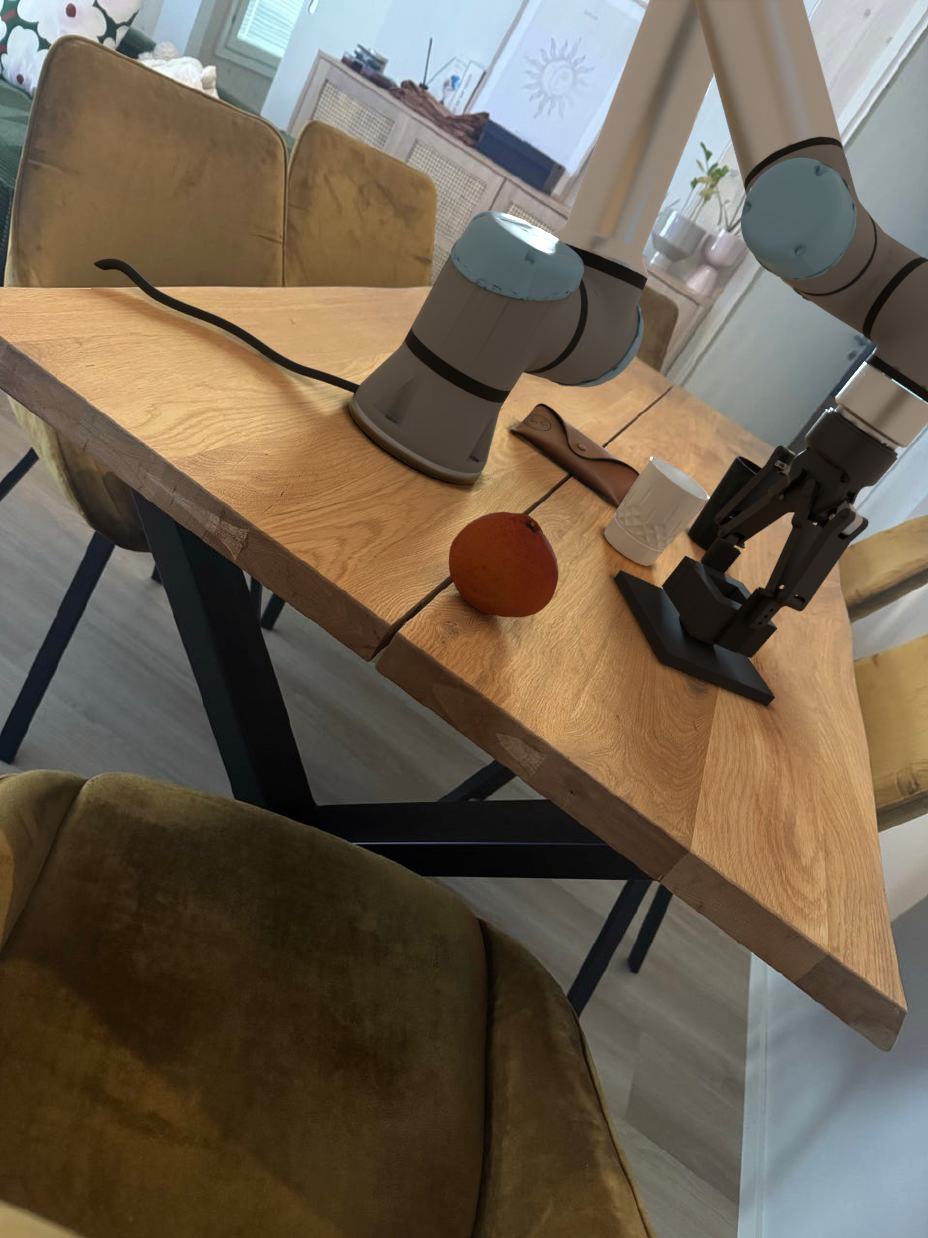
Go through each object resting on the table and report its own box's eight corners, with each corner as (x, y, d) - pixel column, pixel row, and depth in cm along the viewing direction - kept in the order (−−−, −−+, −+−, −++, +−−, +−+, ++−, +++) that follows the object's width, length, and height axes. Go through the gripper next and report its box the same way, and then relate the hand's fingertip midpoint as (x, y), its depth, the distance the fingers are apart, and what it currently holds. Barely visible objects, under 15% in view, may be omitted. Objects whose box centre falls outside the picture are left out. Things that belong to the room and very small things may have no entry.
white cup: (661, 561, 108) (714, 493, 103) (648, 577, 101) (705, 504, 96) (607, 521, 109) (657, 452, 104) (591, 534, 102) (644, 460, 97)
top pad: (690, 633, 86) (717, 600, 84) (661, 586, 92) (685, 555, 90) (751, 659, 89) (778, 628, 87) (718, 611, 95) (742, 582, 94)
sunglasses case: (508, 426, 116) (539, 386, 117) (506, 443, 123) (535, 405, 124) (623, 509, 115) (654, 468, 115) (614, 522, 122) (644, 483, 122)
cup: (729, 568, 122) (788, 496, 117) (682, 537, 121) (739, 463, 116) (724, 548, 129) (780, 480, 124) (680, 519, 128) (734, 449, 123)
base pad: (660, 662, 83) (694, 621, 81) (613, 578, 94) (642, 540, 92) (767, 706, 89) (802, 669, 87) (711, 622, 100) (740, 587, 98)
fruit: (499, 650, 68) (558, 567, 65) (414, 575, 70) (466, 491, 67) (544, 626, 76) (599, 551, 72) (466, 559, 78) (516, 483, 75)
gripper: (964, 500, 74) (780, 699, 84) (835, 399, 90) (694, 575, 100) (905, 463, 71) (721, 675, 81) (783, 366, 87) (643, 551, 97)
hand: (706, 619), depth 90 cm, fingers closed on top pad, 8 cm apart
